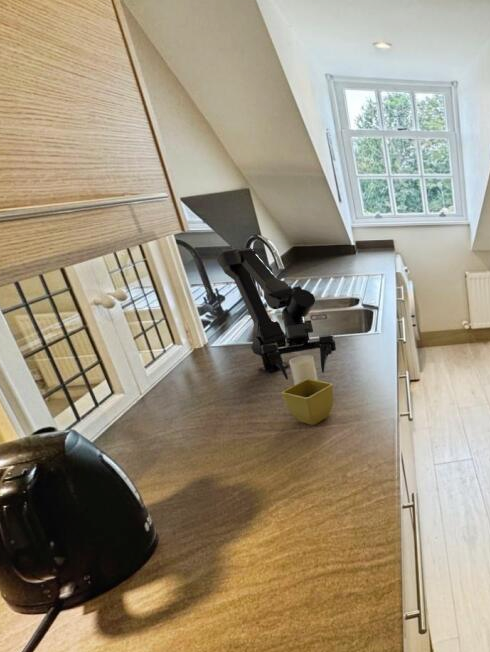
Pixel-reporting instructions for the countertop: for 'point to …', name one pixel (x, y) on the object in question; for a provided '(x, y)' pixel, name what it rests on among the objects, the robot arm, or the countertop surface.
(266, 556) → the countertop surface
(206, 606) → the countertop surface
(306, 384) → the flower pot
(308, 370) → the tall white cylinder
